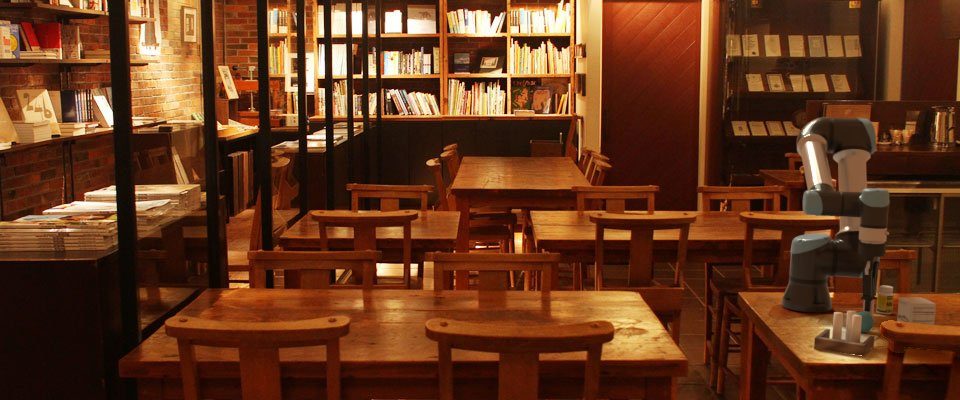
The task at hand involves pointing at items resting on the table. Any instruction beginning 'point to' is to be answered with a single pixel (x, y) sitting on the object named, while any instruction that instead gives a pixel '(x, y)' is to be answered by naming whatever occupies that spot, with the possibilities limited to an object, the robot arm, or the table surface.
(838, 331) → the pin
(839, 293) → the table surface
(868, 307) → the robot arm
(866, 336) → the beige square tile
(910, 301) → the supplement box
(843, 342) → the tray
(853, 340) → the pin
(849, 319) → the pin front
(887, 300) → the supplement bottle
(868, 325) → the ball
